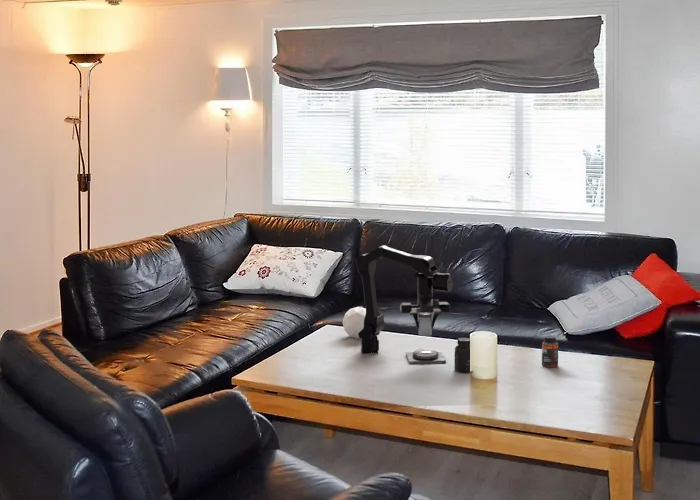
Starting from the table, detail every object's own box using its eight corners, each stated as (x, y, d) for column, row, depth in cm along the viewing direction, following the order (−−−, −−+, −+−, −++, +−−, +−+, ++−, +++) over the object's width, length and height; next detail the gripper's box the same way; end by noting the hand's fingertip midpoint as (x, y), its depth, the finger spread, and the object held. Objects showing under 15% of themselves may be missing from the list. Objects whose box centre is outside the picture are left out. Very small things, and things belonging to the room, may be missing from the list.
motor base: (409, 363, 312) (409, 356, 311) (405, 354, 324) (405, 347, 323) (445, 362, 312) (446, 355, 312) (441, 354, 324) (441, 346, 324)
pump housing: (419, 336, 313) (419, 315, 312) (417, 332, 318) (417, 312, 317) (432, 335, 314) (432, 315, 312) (430, 332, 319) (430, 312, 317)
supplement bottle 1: (472, 373, 299) (472, 342, 297) (453, 373, 300) (453, 341, 298) (473, 368, 305) (473, 337, 303) (455, 367, 307) (455, 336, 305)
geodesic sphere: (345, 317, 361) (342, 297, 351) (376, 318, 359) (374, 298, 349) (342, 344, 351) (339, 324, 342) (374, 345, 350) (371, 325, 340)
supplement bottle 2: (558, 364, 309) (559, 335, 307) (557, 368, 303) (558, 339, 301) (542, 362, 311) (543, 333, 309) (540, 367, 305) (541, 338, 303)
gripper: (402, 294, 305) (402, 335, 307) (452, 293, 306) (452, 334, 308) (399, 288, 316) (400, 327, 318) (448, 287, 317) (447, 326, 319)
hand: (424, 329), depth 316 cm, fingers closed on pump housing, 5 cm apart
